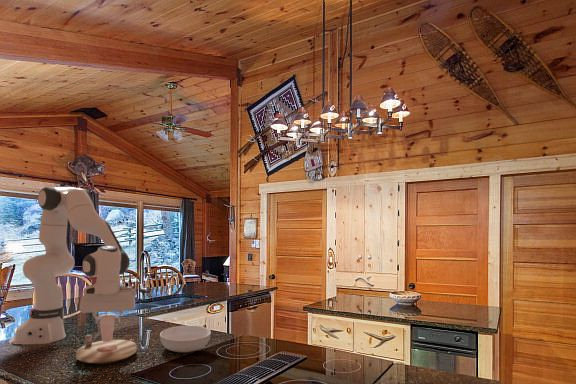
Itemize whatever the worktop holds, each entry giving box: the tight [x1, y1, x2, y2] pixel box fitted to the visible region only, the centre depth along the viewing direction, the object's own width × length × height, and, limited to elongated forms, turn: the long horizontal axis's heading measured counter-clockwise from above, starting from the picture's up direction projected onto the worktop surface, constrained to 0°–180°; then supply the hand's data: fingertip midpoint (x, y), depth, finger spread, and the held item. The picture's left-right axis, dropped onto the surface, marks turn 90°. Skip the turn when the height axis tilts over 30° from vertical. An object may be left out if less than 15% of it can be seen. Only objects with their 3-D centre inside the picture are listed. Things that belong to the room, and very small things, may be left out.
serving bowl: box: [159, 325, 212, 353], centre depth 180 cm, size 21×21×7 cm
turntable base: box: [85, 358, 127, 366], centre depth 169 cm, size 16×16×2 cm
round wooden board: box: [75, 334, 138, 364], centre depth 169 cm, size 22×22×6 cm
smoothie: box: [98, 312, 117, 342], centre depth 169 cm, size 6×6×14 cm
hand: (107, 322), depth 169 cm, fingers closed on smoothie, 6 cm apart
